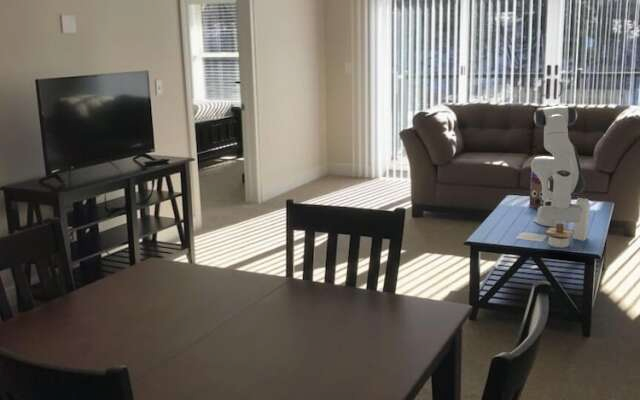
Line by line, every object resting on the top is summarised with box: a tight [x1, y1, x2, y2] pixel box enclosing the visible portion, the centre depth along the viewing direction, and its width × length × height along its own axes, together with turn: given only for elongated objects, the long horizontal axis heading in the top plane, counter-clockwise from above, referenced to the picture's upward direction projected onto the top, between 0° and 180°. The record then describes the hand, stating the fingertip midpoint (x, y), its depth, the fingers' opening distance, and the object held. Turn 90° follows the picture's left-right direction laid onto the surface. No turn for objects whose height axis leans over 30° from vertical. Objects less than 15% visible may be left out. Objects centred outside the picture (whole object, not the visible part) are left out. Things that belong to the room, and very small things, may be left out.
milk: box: [572, 197, 591, 242], centre depth 366 cm, size 6×6×22 cm
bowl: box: [548, 235, 571, 248], centre depth 357 cm, size 10×10×5 cm
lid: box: [544, 223, 574, 239], centre depth 355 cm, size 12×12×5 cm
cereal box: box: [528, 169, 542, 209], centre depth 436 cm, size 17×5×24 cm, turn 58°
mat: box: [515, 231, 549, 243], centre depth 372 cm, size 14×14×1 cm
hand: (559, 228), depth 355 cm, fingers closed on lid, 3 cm apart
